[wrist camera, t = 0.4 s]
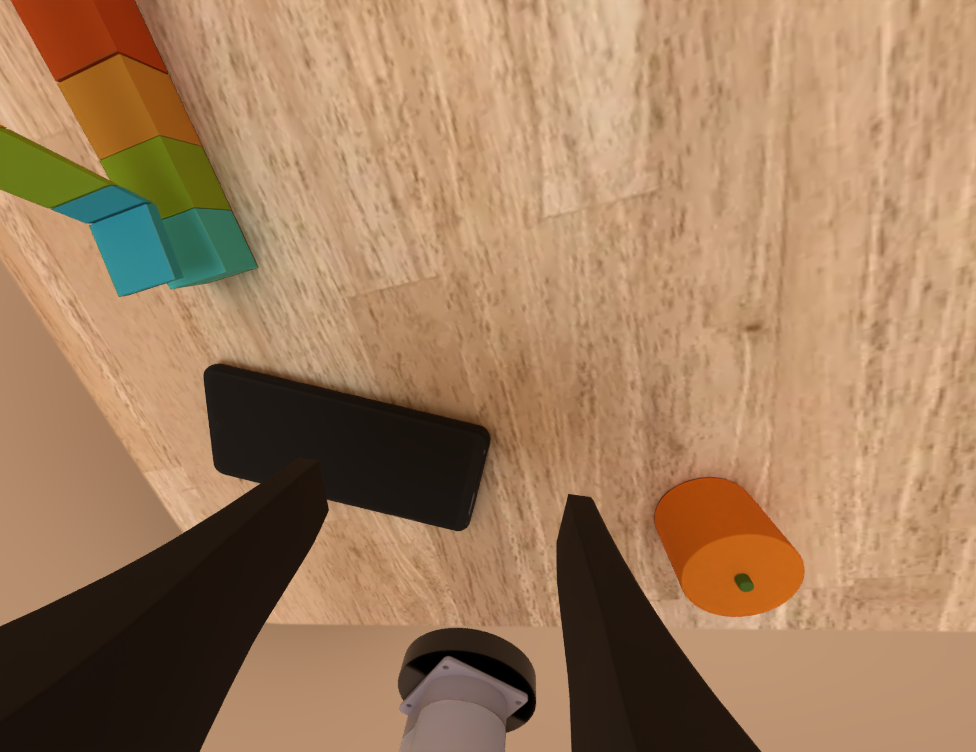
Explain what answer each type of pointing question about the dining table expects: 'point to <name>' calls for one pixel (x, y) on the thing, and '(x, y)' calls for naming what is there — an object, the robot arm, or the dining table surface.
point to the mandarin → (726, 549)
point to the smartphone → (347, 445)
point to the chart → (125, 152)
